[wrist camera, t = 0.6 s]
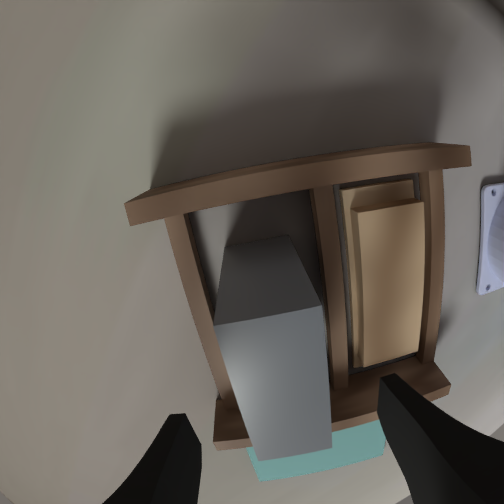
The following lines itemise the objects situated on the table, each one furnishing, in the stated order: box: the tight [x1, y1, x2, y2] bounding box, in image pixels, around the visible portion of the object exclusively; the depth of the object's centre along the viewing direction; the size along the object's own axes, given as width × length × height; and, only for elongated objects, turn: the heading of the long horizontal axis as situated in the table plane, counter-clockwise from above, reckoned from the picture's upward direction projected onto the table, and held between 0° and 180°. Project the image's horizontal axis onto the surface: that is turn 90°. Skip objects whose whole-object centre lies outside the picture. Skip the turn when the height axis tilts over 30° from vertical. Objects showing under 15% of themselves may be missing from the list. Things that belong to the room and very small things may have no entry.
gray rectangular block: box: [213, 235, 332, 461], centre depth 15 cm, size 4×8×8 cm, turn 11°
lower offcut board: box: [339, 179, 414, 368], centre depth 19 cm, size 4×12×1 cm, turn 11°
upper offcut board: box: [350, 198, 425, 367], centre depth 17 cm, size 4×10×1 cm, turn 11°
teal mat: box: [246, 420, 386, 481], centre depth 23 cm, size 12×9×1 cm
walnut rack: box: [124, 142, 472, 450], centre depth 17 cm, size 16×16×4 cm
